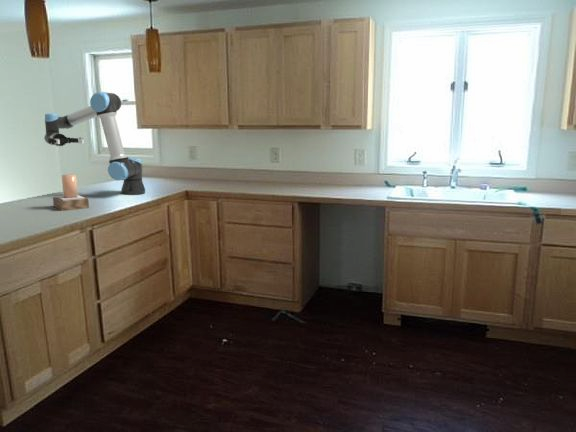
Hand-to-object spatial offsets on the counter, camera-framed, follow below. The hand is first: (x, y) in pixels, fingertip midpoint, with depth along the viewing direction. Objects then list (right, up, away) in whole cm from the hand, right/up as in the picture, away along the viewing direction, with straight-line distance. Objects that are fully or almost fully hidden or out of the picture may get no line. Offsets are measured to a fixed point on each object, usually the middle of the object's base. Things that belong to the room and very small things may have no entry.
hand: (71, 141), depth 270 cm
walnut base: (+8, -39, -17) cm, 43 cm away
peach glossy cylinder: (+8, -33, -19) cm, 39 cm away
